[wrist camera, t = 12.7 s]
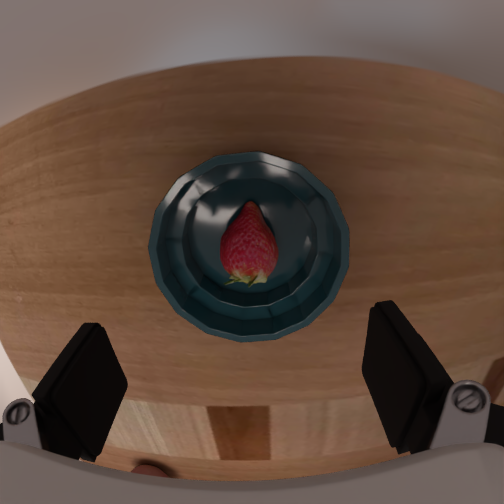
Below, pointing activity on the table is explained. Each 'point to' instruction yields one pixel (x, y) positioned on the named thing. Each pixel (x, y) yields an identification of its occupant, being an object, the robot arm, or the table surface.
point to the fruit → (248, 247)
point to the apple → (149, 471)
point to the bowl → (283, 229)
